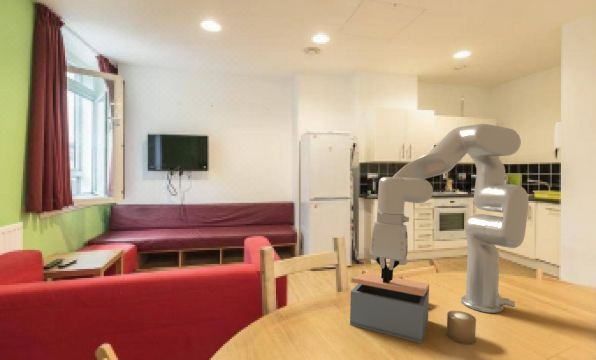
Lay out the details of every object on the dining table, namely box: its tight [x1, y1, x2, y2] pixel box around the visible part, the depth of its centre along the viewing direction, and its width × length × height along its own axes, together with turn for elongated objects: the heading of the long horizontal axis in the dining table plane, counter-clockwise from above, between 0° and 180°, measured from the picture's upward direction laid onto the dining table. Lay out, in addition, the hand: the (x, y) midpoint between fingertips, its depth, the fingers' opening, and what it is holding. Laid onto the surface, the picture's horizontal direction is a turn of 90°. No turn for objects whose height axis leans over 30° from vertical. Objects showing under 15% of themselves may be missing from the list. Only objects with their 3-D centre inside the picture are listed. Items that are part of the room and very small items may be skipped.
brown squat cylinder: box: [446, 310, 477, 346], centre depth 86 cm, size 7×7×6 cm
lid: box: [351, 272, 430, 296], centre depth 93 cm, size 20×15×1 cm
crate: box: [349, 283, 430, 345], centre depth 93 cm, size 20×15×10 cm
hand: (386, 281), depth 90 cm, fingers closed
